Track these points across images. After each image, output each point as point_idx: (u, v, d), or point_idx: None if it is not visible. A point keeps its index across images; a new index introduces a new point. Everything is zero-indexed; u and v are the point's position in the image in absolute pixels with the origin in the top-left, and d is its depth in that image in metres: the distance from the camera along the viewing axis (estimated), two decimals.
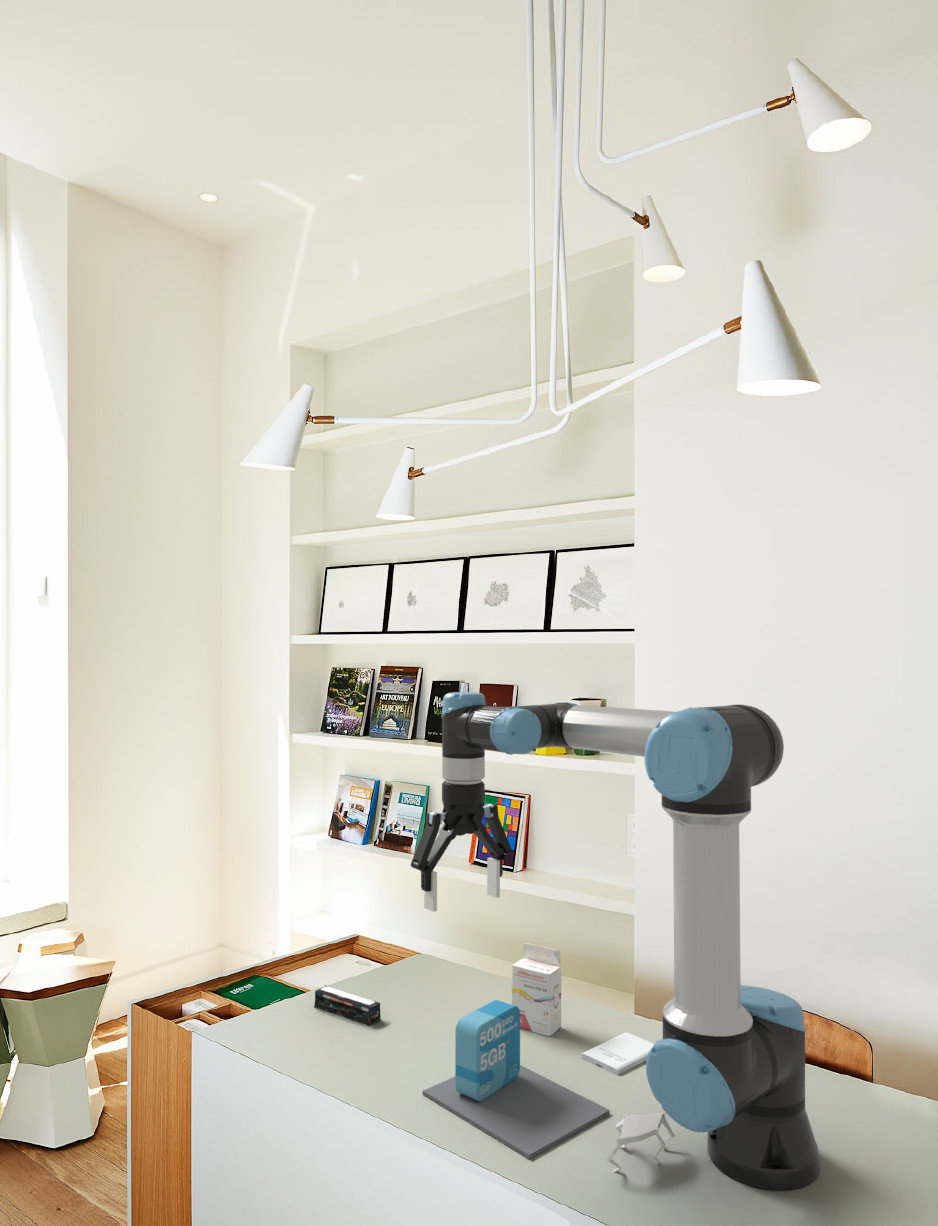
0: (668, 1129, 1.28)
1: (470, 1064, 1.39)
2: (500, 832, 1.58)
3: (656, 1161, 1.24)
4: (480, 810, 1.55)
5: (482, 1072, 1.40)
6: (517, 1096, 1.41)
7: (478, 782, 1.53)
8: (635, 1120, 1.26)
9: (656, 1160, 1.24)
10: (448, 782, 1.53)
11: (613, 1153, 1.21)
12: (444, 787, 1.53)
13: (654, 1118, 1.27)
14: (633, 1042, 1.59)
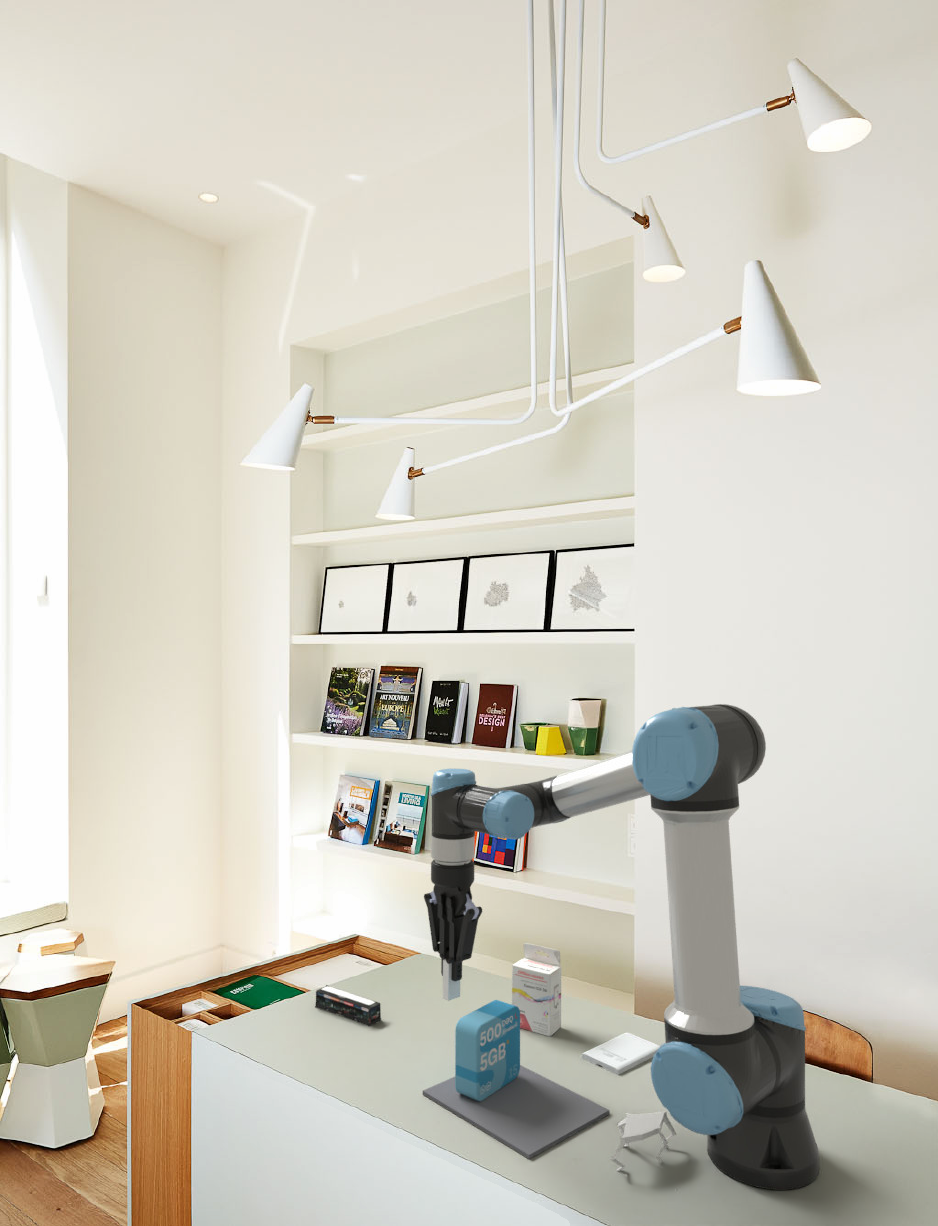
0: (670, 1127, 1.28)
1: (470, 1064, 1.39)
2: (461, 934, 1.48)
3: (659, 1159, 1.24)
4: (460, 896, 1.49)
5: (482, 1072, 1.40)
6: (517, 1096, 1.41)
7: (443, 864, 1.49)
8: (638, 1119, 1.27)
9: (659, 1158, 1.25)
10: None
11: (616, 1152, 1.21)
12: None
13: (656, 1117, 1.27)
14: (633, 1042, 1.59)
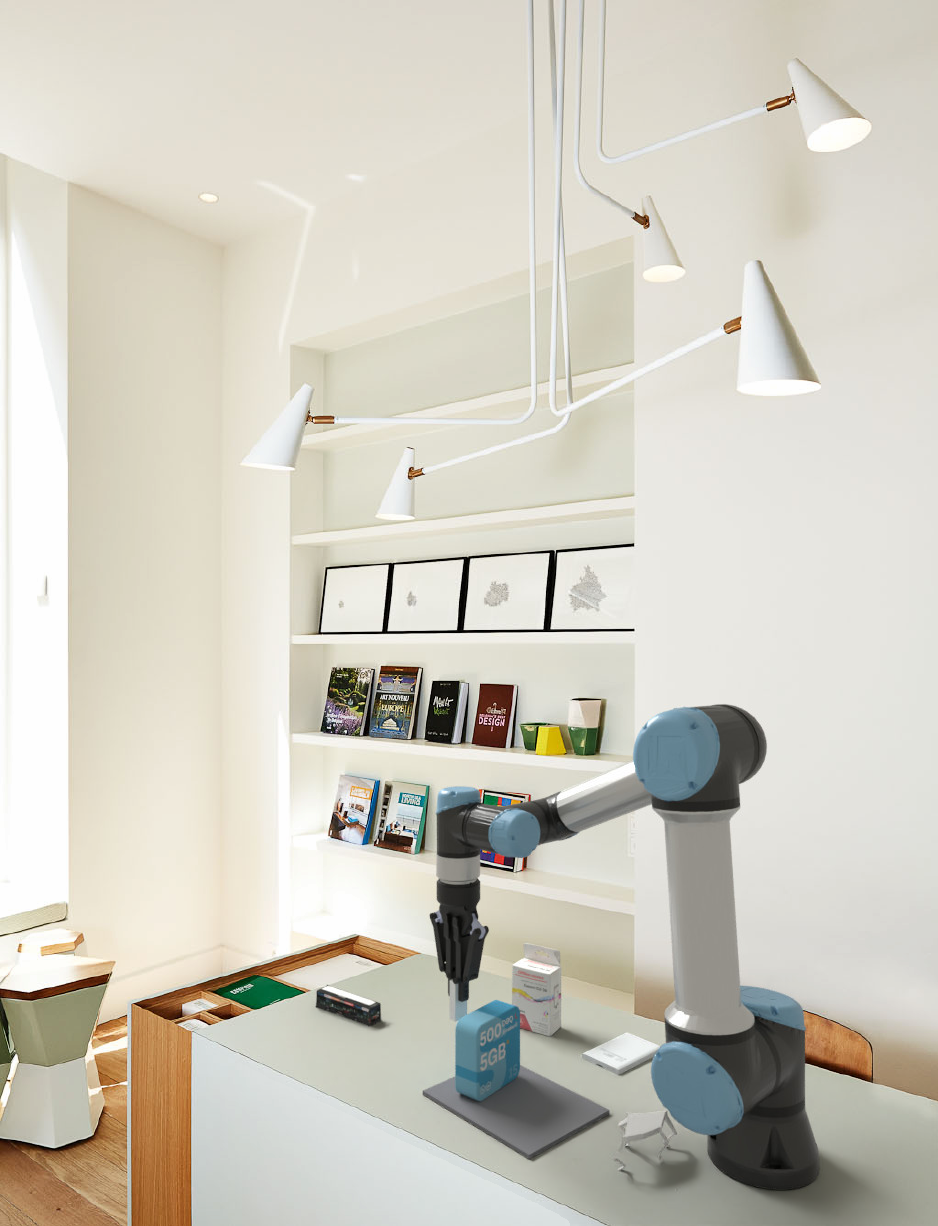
0: (671, 1127, 1.29)
1: (470, 1064, 1.39)
2: (468, 954, 1.47)
3: (660, 1159, 1.25)
4: (466, 916, 1.48)
5: (482, 1072, 1.40)
6: (517, 1096, 1.41)
7: (449, 883, 1.48)
8: (639, 1118, 1.27)
9: (660, 1158, 1.25)
10: None
11: (618, 1151, 1.22)
12: None
13: (657, 1116, 1.27)
14: (633, 1042, 1.59)
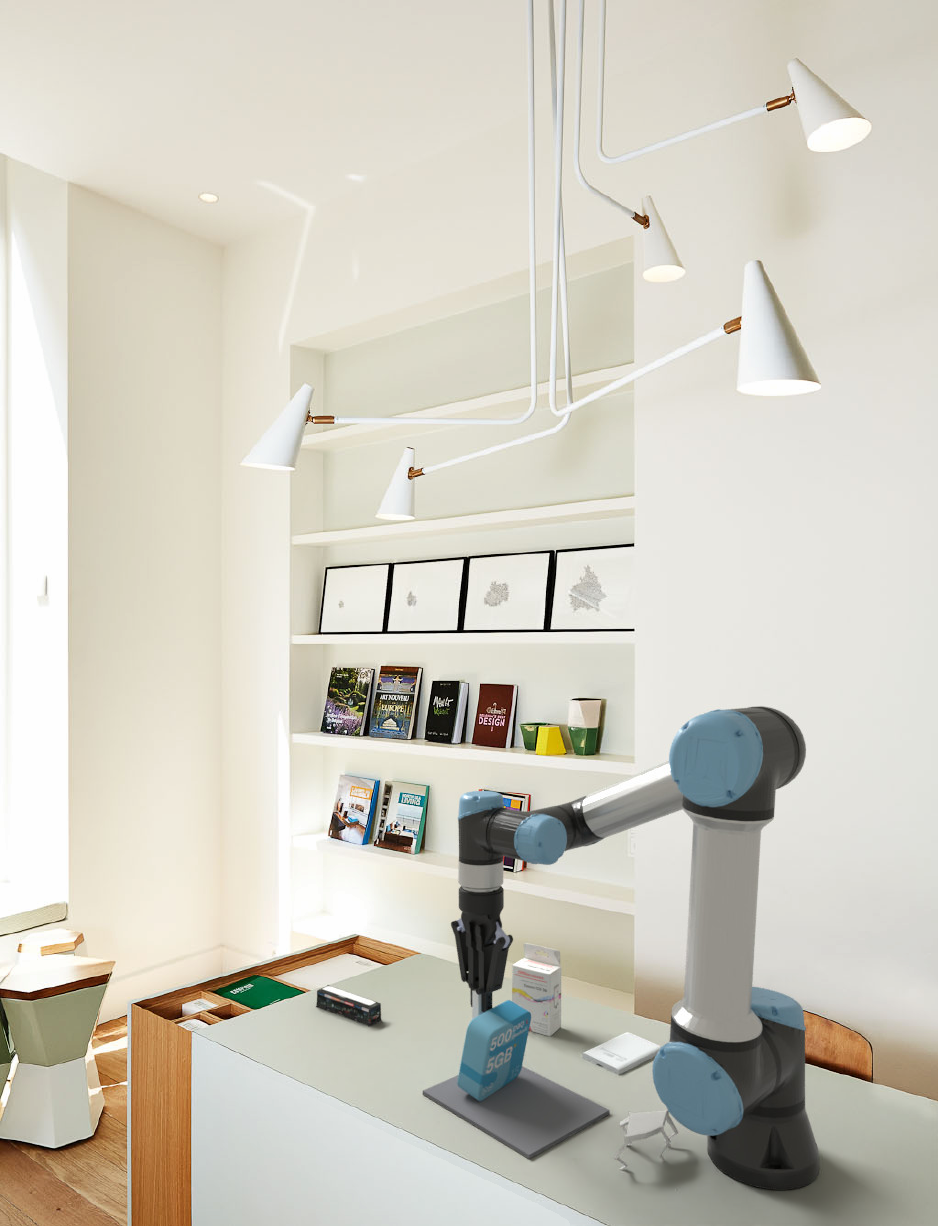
0: (672, 1126, 1.29)
1: (476, 1065, 1.39)
2: (491, 964, 1.43)
3: (661, 1158, 1.25)
4: (489, 924, 1.44)
5: (487, 1075, 1.39)
6: (517, 1096, 1.41)
7: (472, 890, 1.44)
8: (640, 1118, 1.27)
9: (661, 1157, 1.25)
10: None
11: (620, 1151, 1.22)
12: None
13: (659, 1116, 1.28)
14: (634, 1042, 1.59)
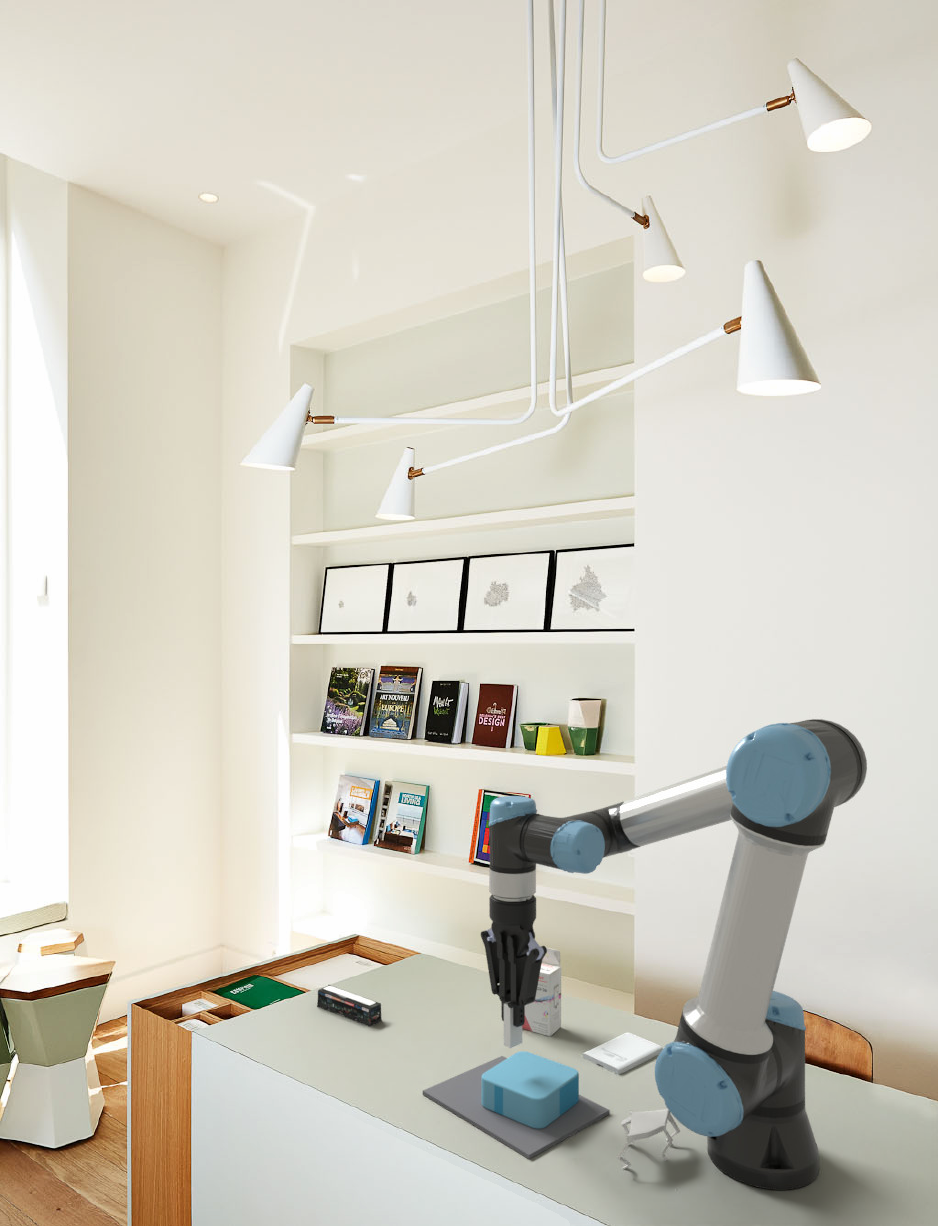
0: (674, 1125, 1.29)
1: (507, 1109, 1.35)
2: (524, 976, 1.37)
3: (664, 1157, 1.25)
4: (522, 935, 1.38)
5: None
6: None
7: (504, 900, 1.38)
8: (642, 1117, 1.27)
9: (664, 1156, 1.25)
10: None
11: (623, 1150, 1.22)
12: None
13: (661, 1115, 1.28)
14: (634, 1042, 1.59)
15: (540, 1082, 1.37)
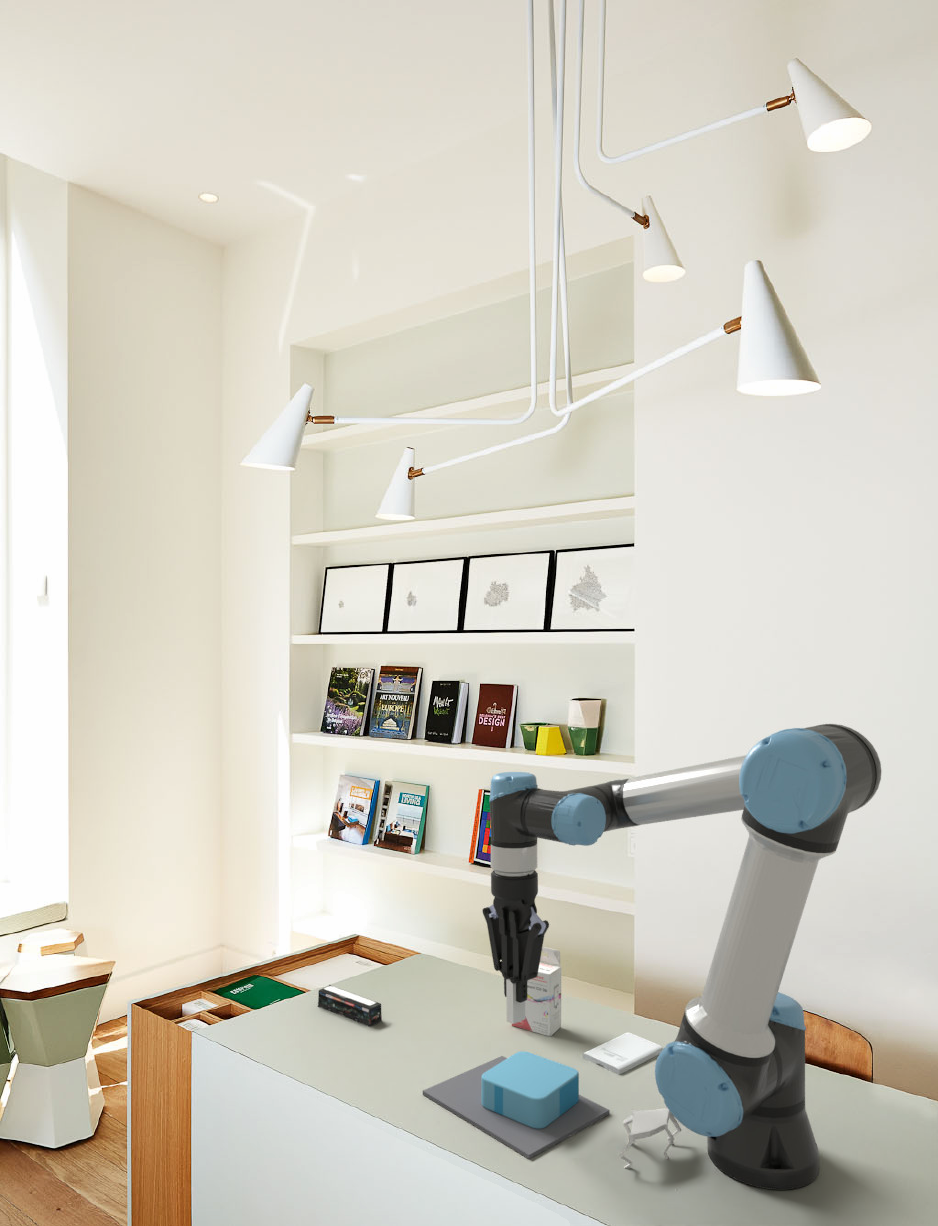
0: (675, 1123, 1.29)
1: (507, 1109, 1.35)
2: (527, 951, 1.37)
3: (665, 1156, 1.25)
4: (524, 910, 1.38)
5: None
6: None
7: (505, 875, 1.38)
8: (644, 1116, 1.27)
9: (665, 1155, 1.25)
10: None
11: (625, 1149, 1.22)
12: None
13: (662, 1113, 1.28)
14: (634, 1042, 1.59)
15: (540, 1082, 1.37)
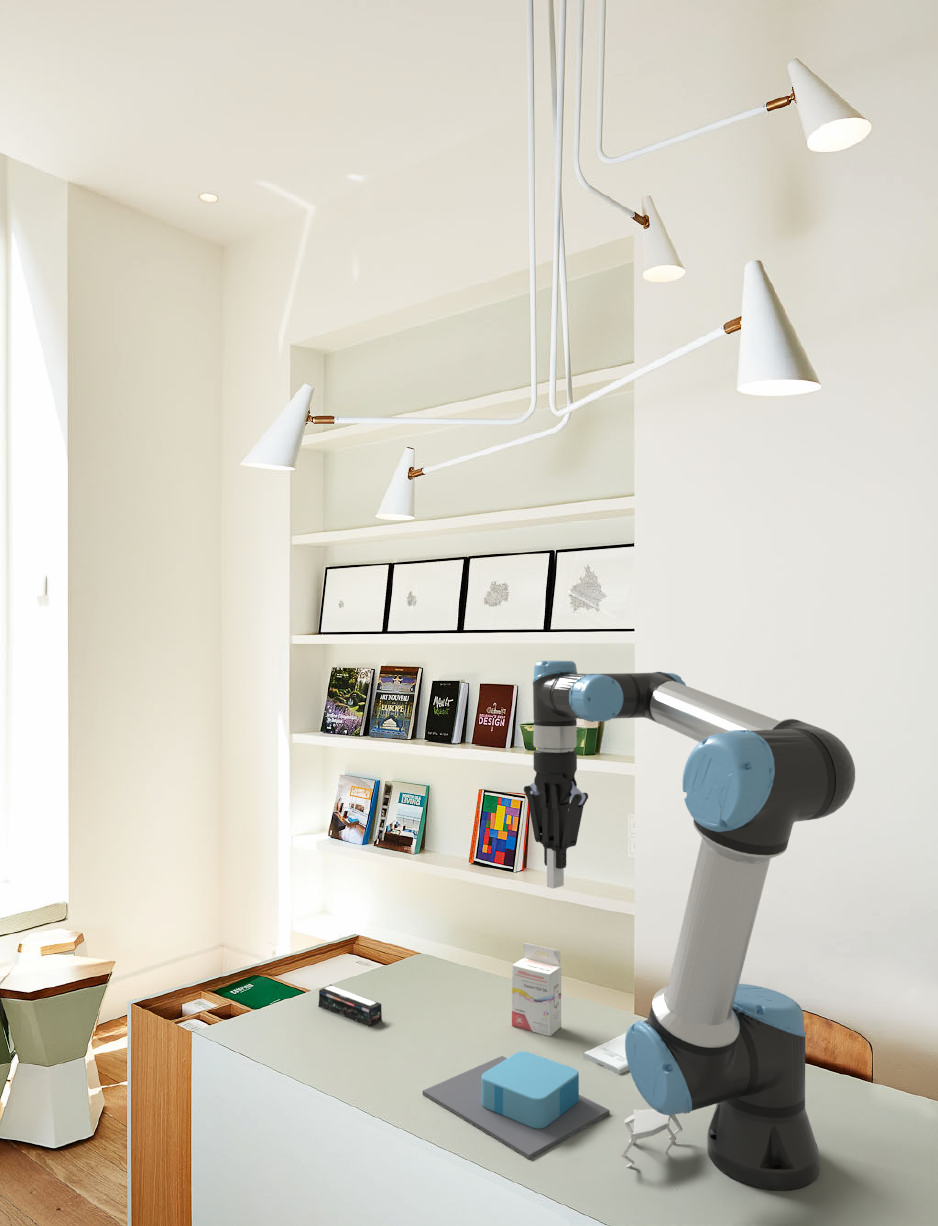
0: (676, 1122, 1.30)
1: (507, 1109, 1.35)
2: (567, 820, 1.49)
3: (667, 1155, 1.26)
4: (565, 783, 1.50)
5: None
6: None
7: (548, 751, 1.50)
8: (645, 1115, 1.28)
9: (667, 1154, 1.26)
10: None
11: (627, 1149, 1.22)
12: None
13: None
14: None
15: (540, 1082, 1.37)
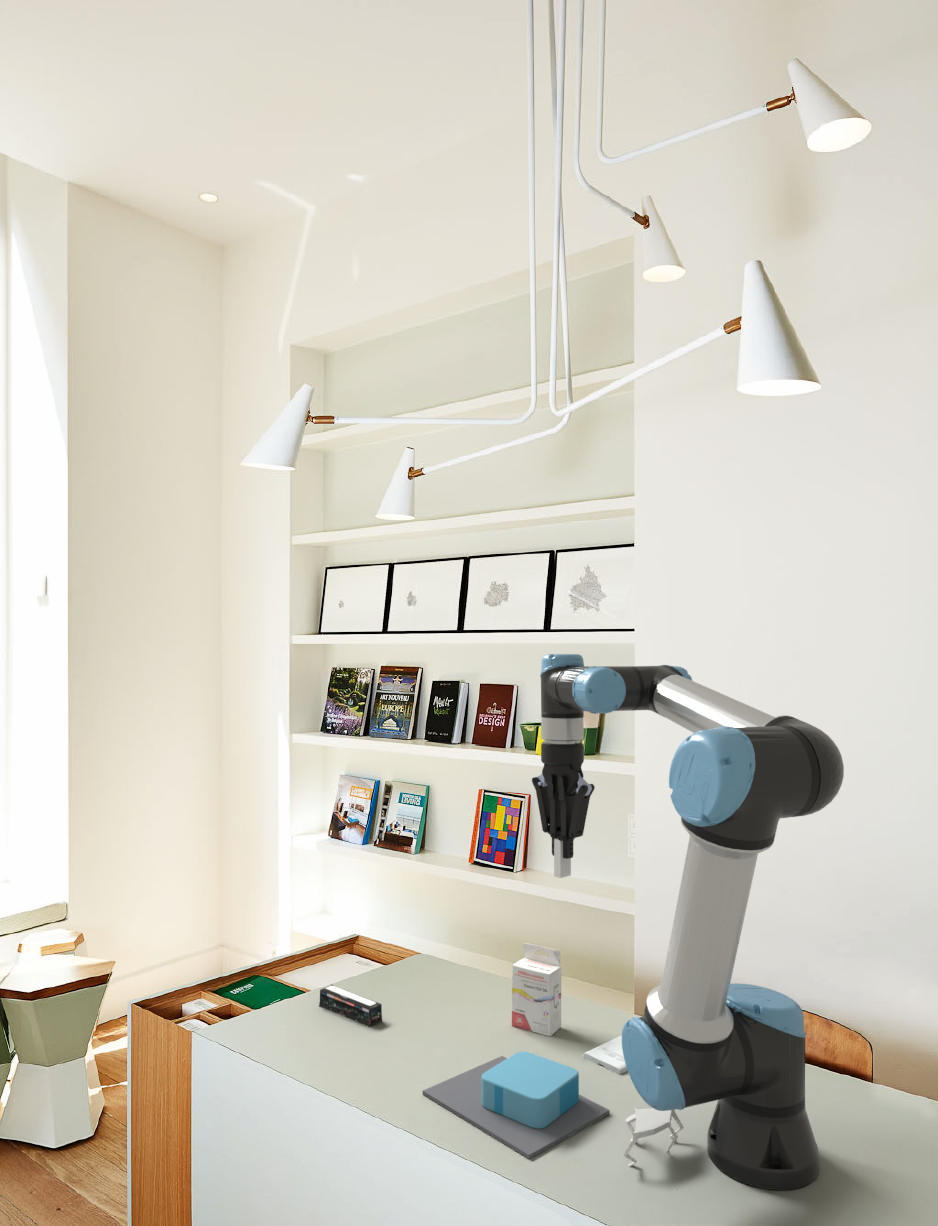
0: (677, 1121, 1.30)
1: (507, 1109, 1.35)
2: (574, 811, 1.51)
3: (669, 1153, 1.26)
4: (572, 774, 1.52)
5: None
6: None
7: (555, 743, 1.53)
8: (647, 1114, 1.28)
9: (669, 1152, 1.26)
10: None
11: (629, 1147, 1.22)
12: None
13: (665, 1111, 1.29)
14: None
15: (540, 1082, 1.37)
